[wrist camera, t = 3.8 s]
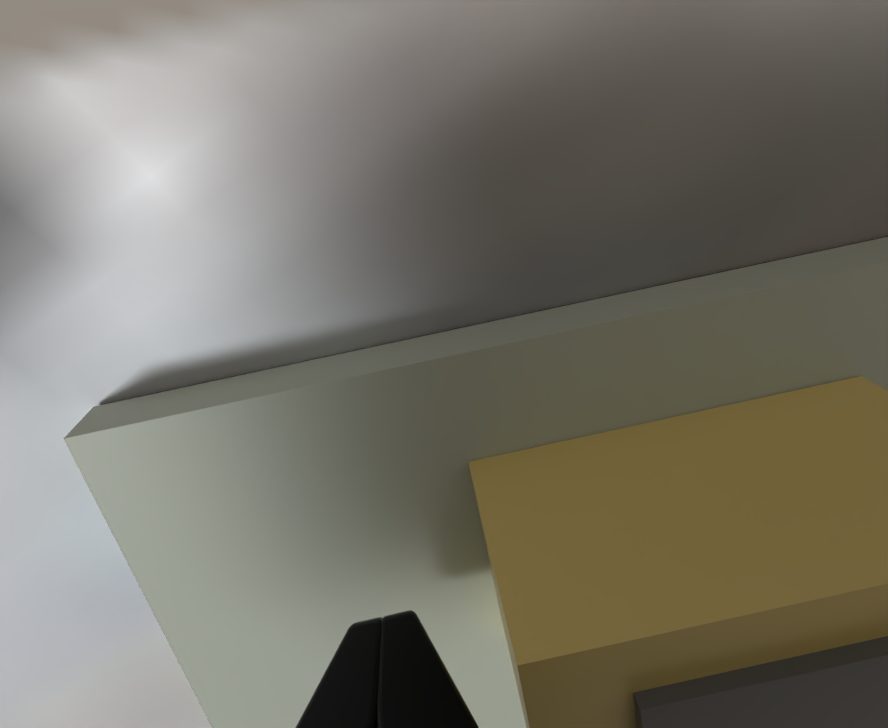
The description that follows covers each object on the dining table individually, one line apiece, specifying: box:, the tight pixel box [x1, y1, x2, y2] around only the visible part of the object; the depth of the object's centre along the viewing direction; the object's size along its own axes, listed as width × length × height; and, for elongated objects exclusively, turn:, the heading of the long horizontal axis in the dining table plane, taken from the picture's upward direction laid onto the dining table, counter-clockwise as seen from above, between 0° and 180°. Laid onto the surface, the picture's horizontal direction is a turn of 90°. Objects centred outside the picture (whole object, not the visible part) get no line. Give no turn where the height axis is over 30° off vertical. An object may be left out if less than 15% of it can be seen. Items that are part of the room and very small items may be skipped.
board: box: [64, 237, 888, 728], centre depth 9 cm, size 18×9×1 cm, turn 101°
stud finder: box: [468, 376, 888, 728], centre depth 7 cm, size 5×3×3 cm, turn 101°
